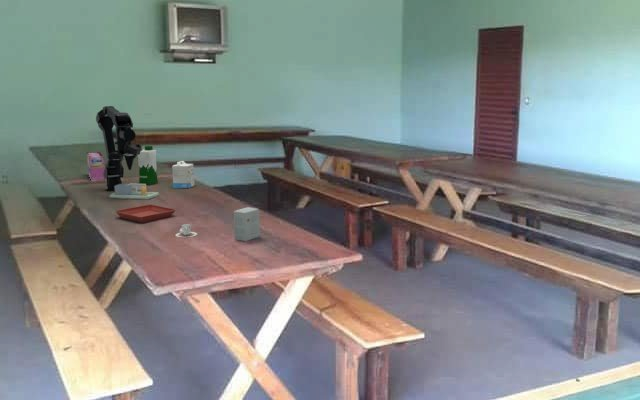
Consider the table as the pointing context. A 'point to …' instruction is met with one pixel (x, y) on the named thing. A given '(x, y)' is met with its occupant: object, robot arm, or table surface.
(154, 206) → the plant saucer
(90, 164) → the pink product box
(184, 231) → the charger with coiled cable
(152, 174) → the milk carton
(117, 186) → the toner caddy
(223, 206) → the table surface
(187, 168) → the ink box
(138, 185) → the frame
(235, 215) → the small box
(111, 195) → the tray
